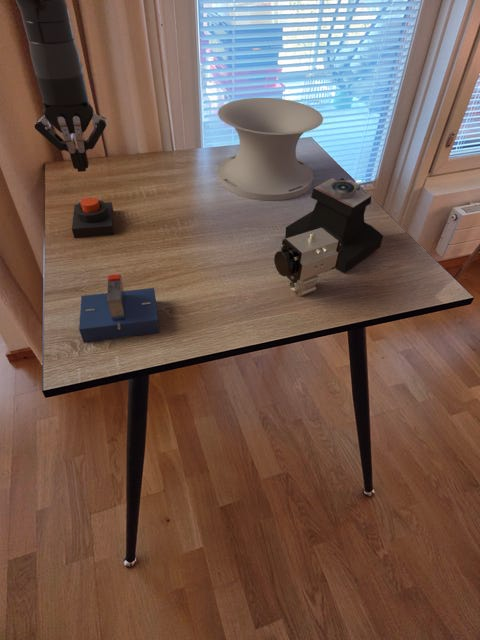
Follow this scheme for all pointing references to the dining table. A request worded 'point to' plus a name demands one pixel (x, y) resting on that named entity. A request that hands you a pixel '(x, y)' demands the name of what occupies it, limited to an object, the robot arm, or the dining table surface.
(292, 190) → the vase
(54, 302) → the dining table surface
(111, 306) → the toggle switch lever
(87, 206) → the release button
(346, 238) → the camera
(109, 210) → the button housing
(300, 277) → the pneumatic valve
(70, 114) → the robot arm
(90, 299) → the toggle switch base
